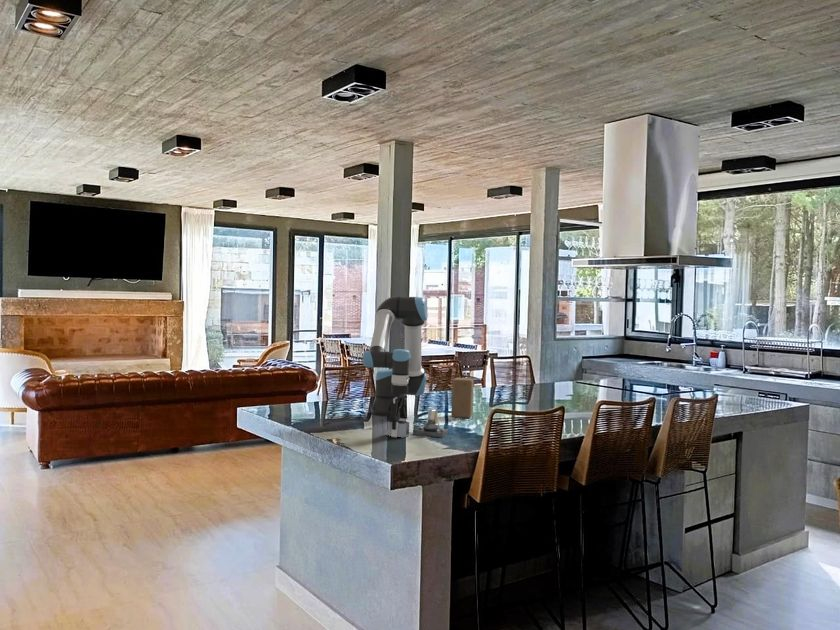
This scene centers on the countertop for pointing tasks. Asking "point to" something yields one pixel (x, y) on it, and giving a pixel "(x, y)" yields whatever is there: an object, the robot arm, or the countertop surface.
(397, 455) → the countertop surface
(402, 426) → the hub
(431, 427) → the shaft stand
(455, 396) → the wooden block
